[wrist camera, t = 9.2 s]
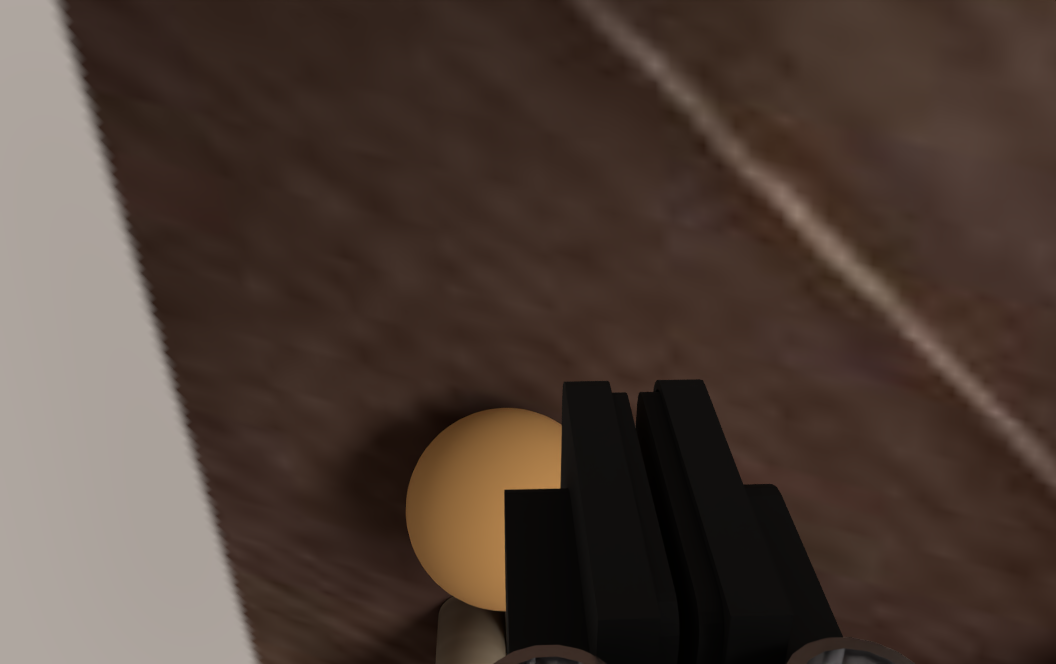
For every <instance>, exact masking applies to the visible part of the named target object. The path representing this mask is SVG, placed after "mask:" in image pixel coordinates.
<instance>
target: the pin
mask: <svg viewBox="0 0 1056 664" xmlns="http://www.w3.org/2000/svg"><path fill="white" fill-rule="evenodd" d="M505 656H506V645H505V613H504V611H494V610H487V609H482V608H479V607H475V606H472V605H469V604H467V603H465V602H463V601H461V600H459V599H457V598H455V597H454V596H453V597H451V598H450V599H448V600H447V601H446V602H445V603H444V604H443V605H442V607H441V608H440V611H439V615H438V630H437V647H436V664H494V663H495V662H496V661H498V660H500V659H501V658H503V657H505Z"/></svg>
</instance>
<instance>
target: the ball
mask: <svg viewBox="0 0 1056 664" xmlns="http://www.w3.org/2000/svg"><path fill="white" fill-rule="evenodd" d="M561 439H562V425H561V424H560V423H558V422H556V421H554V420H553V419H551V418H549V417H547V416H545V415H542V414H539V413H536V412H533V411H529V410H525V409H518V408H495V409H488V410H484V411H480V412H476V413H473V414H471V415H469V416H466V417H464V418H462V419H459V420H458V421H456V422H455V423H453V424H452V425H450V426H448V427H447V428H446V429H445V430H443V431H442V432H441V433H440V434H439V435H437V437H436V438H435V439H434V440H433V441H432V442H431V443H430V444H429V446H428V447H427V448H426V449H425V451H424V452H423V454H422V455H421V457H420V458H419V460H418V462H417V465H416V467H415V469H414V471H413V473H412V476H411V479H410V483H409V486H408V492H407V497H406V521H407V529H408V533H409V537H410V540H411V544H412V546H413V549H414V551H415V554H416V556H417V558H418V559H419V561H420V563H421V564H422V566H423V568H424V569H425V571H426V572H427V573H428V574H429V575H430V576H431V578H432V579H433V580H434V581H435V582H436V583H437V584H438V585H439V586H440V587H442V588H443V589H444V590H445V591H446V592H448V593H449V594H450V595H452V596H454V597H455V598H457V599H459V600H461V601H463V602H465V603H467V604H469V605H472V606H475V607H479V608H482V609H487V610H494V611H506V591H505V520H504V490H510V489H559V488H560V483H561Z"/></svg>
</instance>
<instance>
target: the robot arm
mask: <svg viewBox="0 0 1056 664" xmlns="http://www.w3.org/2000/svg"><path fill="white" fill-rule="evenodd" d="M504 520H505V591H506V633H507V656H505V657H503V658H501V659H500V660H498V661H496V662H495V663H494V664H915V663H913V662H912V661H911V660H909V659H908V658H906V657H905V656H903V655H902V654H900V653H899V652H897V651H895V650H892V649H890V648H887V647H885V646H883V645H880V644H878V643H875V642H872V641H867V640H862V639H857V638H852V637H843V636H842V634H841V631H840V629H839V627H838V624H837V622H836V620H835V617H834V615H833V613H832V611H831V608H830V606H829V604H828V601H827V599H826V597H825V594H824V592H823V590H822V587H821V585H820V583H819V581H818V578H817V576H816V574H815V571H814V569H813V567H812V564H811V562H810V560H809V557H808V555H807V553H806V550H805V548H804V546H803V544H802V541H801V539H800V537H799V534H798V532H797V530H796V527H795V525H794V523H793V520H792V518H791V516H790V514H789V511H788V509H787V507H786V504H785V502H784V500H783V497H782V495H781V493H780V492H779V490H778V488H777V487H776V486H774V485H773V484H753V485H743V483H742V480H741V477H740V475H739V472H738V470H737V467H736V464H735V462H734V459H733V457H732V454H731V451H730V449H729V446H728V443H727V441H726V438H725V436H724V433H723V430H722V428H721V425H720V423H719V420H718V417H717V415H716V412H715V410H714V407H713V404H712V402H711V399H710V396H709V394H708V391H707V389H706V386H705V384H704V382H703V380H657V381H656V382H655V386H654V391H653V392H640V393H639V396H638V402H637V417H636V428H635V424H634V420H633V416H632V412H631V407H630V403H629V399H628V395H627V393H612V392H611V387H610V384H609V382H608V381H581V382H564V384H563V396H562V439H561V483H560V488H559V489H510V490H504Z"/></svg>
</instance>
